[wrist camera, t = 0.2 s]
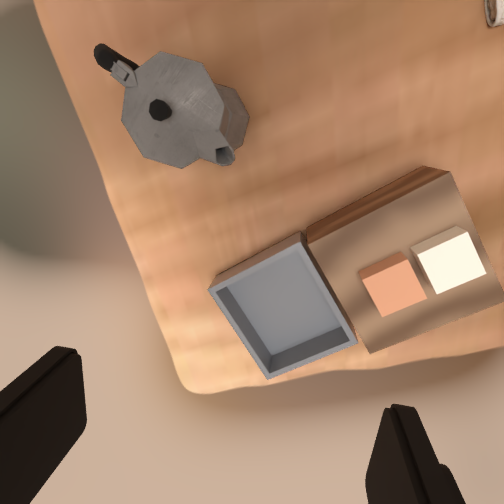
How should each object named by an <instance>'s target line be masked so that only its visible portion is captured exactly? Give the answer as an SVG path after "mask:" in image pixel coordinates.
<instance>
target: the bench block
mask: <svg viewBox="0 0 504 504" xmlns="http://www.w3.org/2000/svg"><path fill="white" fill-rule="evenodd" d="M455 226H458V227H460V228H462V229H464V230H465V231H467V232H468V234H469V236H470V238H471V241H472V243H473V245H474V247H475V249H476V252H477V254H478V256H479V258H480V260H481V263H482V265H483V267H484V269H485V272H486V274H485V275H482V276H480V277H477V278H475V279H473V280H470V281H468V282H465V283H463V284H461V285H458V286H456V287H454V288H451V289H449V290H446V291H444V292H442V293H439V294H436V293H435V292H434V291H433V289H432V288H431V287H430V286H429V285H428V283H427V281H426V279H425V277H424V275H423V273H422V271H421V269H420V267H419V265H418V263H417V261H416V259H415V257H414V255H413V253H412V251H411V249H410V247H412V246H414V245H416V244H418V243H420V242H422V241H425V240H427V239H429V238H431V237H433V236H435V235H437V234H440V233H442V232H444V231H446V230H448V229H450V228H452V227H455ZM307 242H308V246H309V248H310V250H311V252H312V253H313V255H314V257H315V259H316V260H317V262H318V264H319V266H320V267H321V269H322V271H323V273H324V274H325V276H326V278H327V280H328V281H329V283H330V285H331V287H332V288H333V290H334V292H335V294H336V296H337V297H338V299H339V301H340V303H341V304H342V306H343V308H344V310H345V311H346V313H347V315H348V317H349V318H350V320H351V322H352V324H353V325H354V327H355V329H356V331H357V332H358V334H359V336H360V338H361V339H362V341H363V343H364V345H365V346H366V348H367V350H368V352H369V353H370V354H371V353H374V352H376V351H379V350H381V349H384V348H387V347H389V346H392V345H394V344H397V343H399V342H402V341H405V340H407V339H410V338H412V337H415V336H417V335H420V334H422V333H425V332H428V331H430V330H433V329H435V328H438V327H440V326H443V325H446V324H448V323H451V322H453V321H456V320H458V319H461V318H463V317H466V316H469V315H471V314H474V313H476V312H479V311H481V310H484V309H487V308H489V307H492V306H494V305H497V304H499V303H502V302H504V292H503V289H502V287H501V285H500V282H499V280H498V278H497V276H496V273H495V271H494V269H493V267H492V264H491V262H490V260H489V258H488V255H487V253H486V251H485V249H484V246H483V244H482V242H481V240H480V237H479V235H478V233H477V231H476V228H475V226H474V224H473V222H472V219H471V217H470V215H469V213H468V210H467V208H466V206H465V204H464V201H463V199H462V197H461V195H460V192H459V190H458V188H457V186H456V183H455V181H454V179H453V177H452V174H451V172H449V171H444V170H440V169H435V168H430V167H426V166H422V167H420V168H418V169H416V170H415V171H413V172H411V173H409V174H407V175H405V176H403V177H401V178H400V179H398V180H396V181H394V182H392V183H390V184H388V185H386V186H384V187H383V188H381V189H379V190H377V191H375V192H373V193H371V194H369V195H367V196H366V197H364V198H362V199H360V200H358V201H356V202H354V203H352V204H350V205H349V206H347V207H345V208H343V209H341V210H339V211H337V212H335V213H333V214H332V215H330V216H328V217H326V218H324V219H322V220H320V221H318V222H316V223H315V224H313V225H311V226H309V227H307ZM399 252H402V253H403V254H404V256H405V257H406V258H407V259H408V261H409V263H410V265H411V267H412V269H413V271H414V273H415V275H416V277H417V279H418V281H419V283H420V285H421V287H422V289H423V291H424V293H425V295H426V297H427V299H425V300H422V301H420V302H418V303H415V304H413V305H410V306H408V307H406V308H403V309H401V310H398V311H396V312H394V313H391V314H389V315H386V316H384V317H382V316H381V314H380V312H379V310H378V309H377V307H376V305H375V303H374V301H373V299H372V298H371V296H370V294H369V292H368V290H367V288H366V287H365V285H364V283H363V281H362V279H361V277H360V274H359V272H358V271H360V270H362V269H365V268H367V267H369V266H371V265H373V264H375V263H377V262H380V261H382V260H384V259H386V258H388V257H390V256H392V255H395V254H397V253H399Z"/></svg>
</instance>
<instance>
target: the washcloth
mask: <svg viewBox="0 0 504 504" xmlns="http://www.w3.org/2000/svg"><path fill="white" fill-rule="evenodd" d="M484 2H485V15H486V20H487V23H488V24H489V26H491V27H494V26H497V25H503V24H504V0H484Z"/></svg>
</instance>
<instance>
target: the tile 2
mask: <svg viewBox="0 0 504 504" xmlns="http://www.w3.org/2000/svg"><path fill="white" fill-rule="evenodd" d="M410 249H411V251H412V253H413V255H414V257H415V259H416V261H417V263H418V265H419V267H420V269H421V271H422V273H423V275H424V277H425V279H426V281H427V283H428V285H429V286H430V287H431V288H432V289H433V291H434V292H435V293H436V294H439V293H442V292H444V291H446V290H449V289H451V288H454V287H456V286H458V285H461V284H463V283H465V282H468V281H470V280H473V279H475V278H477V277H480V276H482V275H485V274H486V272H485V269H484V267H483V265H482V263H481V260H480V258H479V256H478V254H477V252H476V249H475V247H474V245H473V243H472V241H471V238H470V236H469V234H468V232H467V231H465V230H464V229H462V228H460V227H458V226H455V227H452V228H450V229H448V230H446V231H444V232H442V233H440V234H437V235H435V236H433V237H431V238H429V239H427V240H425V241H422V242H420V243H418V244H416V245H414V246H412V247H410Z"/></svg>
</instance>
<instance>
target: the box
mask: <svg viewBox="0 0 504 504" xmlns="http://www.w3.org/2000/svg"><path fill="white" fill-rule="evenodd" d="M208 291H209V293H210V294H211V296H212V297H213V299H214V300H215V302H216V303H217V305H218V306H219V308H220V309H221V311H222V312H223V314H224V315H225V317H226V318H227V320H228V321H229V323H230V324H231V326H232V327H233V329H234V330H235V332H236V333H237V335H238V336H239V338H240V339H241V341H242V342H243V344H244V345H245V347H246V348H247V350H248V351H249V353H250V354H251V356H252V357H253V359H254V360H255V362H256V363H257V365H258V367H259V368H260V370H261V371H262V373H263V374H264V376H265V377H266V379H267V380H268V379H271V378H273V377H276V376H278V375H281V374H283V373H286V372H288V371H291V370H293V369H296V368H298V367H301V366H303V365H306V364H308V363H311V362H313V361H316V360H318V359H321V358H323V357H325V356H328V355H330V354H333V353H335V352H338V351H340V350H343V349H345V348H348V347H350V346H353V345H355V344H358V340H357V336H356V333H355V329H354V326H353V324H352V322H351V320H350V318H349V317H348V315H347V313H346V311H345V310H344V308H343V306H342V304H341V303H340V301H339V299H338V297H337V296H336V294H335V292H334V290H333V288H332V287H331V285H330V283H329V281H328V280H327V278H326V276H325V274H324V273H323V271H322V269H321V267H320V266H319V264H318V262H317V260H316V259H315V257H314V255H313V253H312V252H311V250H310V248H309V246H308V244H307V242H306V240H305V239H304V237H303V235H302V233H301V232H300V231H299V232H298V233H296V234H294V235H292V236H290V237H288V238H286V239H284V240H282V241H281V242H279V243H277V244H275V245H273V246H271V247H269V248H267V249H266V250H264V251H262V252H260V253H258V254H256V255H254V256H252V257H250V258H249V259H247V260H245V261H243V262H241V263H239V264H237V265H235V266H233V267H232V268H230V269H228V270H226V271H224V272H222V273H220V274H218V275H216V277H215V278H214V280H213V282H212V283H211V285H210V286H209V288H208Z"/></svg>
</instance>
